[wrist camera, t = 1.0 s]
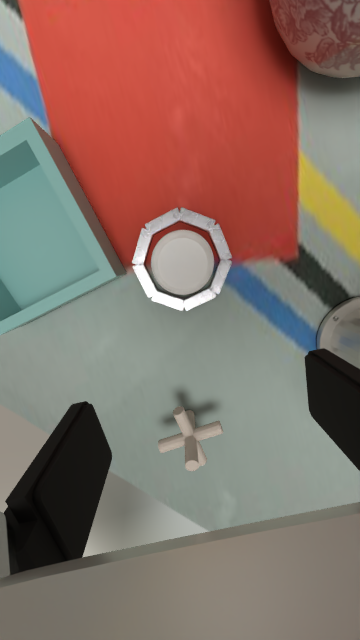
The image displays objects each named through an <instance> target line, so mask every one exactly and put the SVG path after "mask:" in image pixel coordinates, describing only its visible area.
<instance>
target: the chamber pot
mask: <svg viewBox="0 0 360 640" xmlns="http://www.w3.org/2000/svg"><path fill="white" fill-rule="evenodd" d="M269 2H270V6H271V10H272V14H273V19H274V23H275V27H276V29H277V31H278V33H279V35H280V36H281V38H282V40H283V41H284V43H285V45H286V47H287V48H288V50H289V52H290V54H291V55H292V56H294V57H295V58H296V59H297V60H298V61H300V62H301V63H302V64H303V65H304V66H306V67H307V68H308V69H309V70H311V71H312V72H315V73H319V74H322V75H325V76H329V77H332V78H336V79H337V78H347V77H358V76H360V0H269Z"/></svg>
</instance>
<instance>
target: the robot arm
mask: <svg viewBox="0 0 360 640" xmlns="http://www.w3.org/2000/svg"><path fill="white" fill-rule="evenodd" d="M305 367H306V380H307V392H308V404H309V411H310V413H311V415H312V417H313V418H314V419H315V421H316V422H317V423H318V424H319V425H320V426H321V427H322V429H323V430H324V431H325V432H326V433H327V434H328V435H329V437H330V438H331V439H332V440H333V441H334V442H335V443H336V445H337V446H338V447H339V448H340V449H341V450H342V451H343V453H344V454H345V455H346V456H347V457H348V458H349V459H350V461H351V462H352V463H353V464H354V465H355V466H356V467H357V469H358V470H359V471H360V297H356V298H352V299H349V300H347V301H345V302H343V303H341V304H340V305H338V306H336V307H335V308H334V309H333V310H332V311H331V312H330V313H329V314H328V315H327V316H326V317H325V319H324V320H323V322H322V324H321V326H320V328H319V331H318V335H317V350H313V351H309V353H308V355H307V356H305ZM111 460H112V453H111V449H110V447H109V444H108V442H107V439H106V437H105V434H104V432H103V429H102V427H101V425H100V422H99V420H98V417H97V415H96V412H95V410H94V407H93V405H92V404H89V403H88V402H86V401H85V402H80V403H76V404H72V405H71V406H70V408H69V409H68V411H67V412H66V414H65V415H64V417H63V418H62V419H61V421H60V422H59V424H58V425H57V427H56V428H55V430H54V431H53V433H52V434H51V435H50V437H49V439H48V440H47V441H46V443H45V444H44V446H43V447H42V449H41V450H40V451H39V453H38V455H37V456H36V457H35V459H34V460H33V462H32V463H31V465H30V466H29V468H28V469H27V470H26V472H25V473H24V475H23V476H22V478H21V479H20V481H19V482H18V483H17V485H16V487H15V488H14V489H13V491H12V492H11V494H10V495H9V497H8V498H7V499H6V501H5V502H6V503H7V505H8V508H7V509H6V510H5V512H4V513H2V512H0V640H360V502H357V503H352V504H347V505H342V506H337V507H332V508H326V509H321V510H316V511H311V512H306V513H300V514H295V515H290V516H285V517H280V518H275V519H270V520H265V521H260V522H255V523H250V524H245V525H240V526H235V527H230V528H225V529H220V530H215V531H210V532H205V533H200V534H195V535H190V536H185V537H180V538H175V539H170V540H165V541H160V542H156V543H151V544H146V545H141V546H136V547H131V548H127V549H122V550H117V551H112V552H108V553H102V554H98V555H93V556H88V557H83V558H82V556H83V553H84V550H85V547H86V543H87V540H88V536H89V533H90V530H91V527H92V523H93V520H94V517H95V513H96V510H97V507H98V503H99V500H100V497H101V494H102V490H103V487H104V484H105V480H106V477H107V474H108V470H109V467H110V464H111Z"/></svg>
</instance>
